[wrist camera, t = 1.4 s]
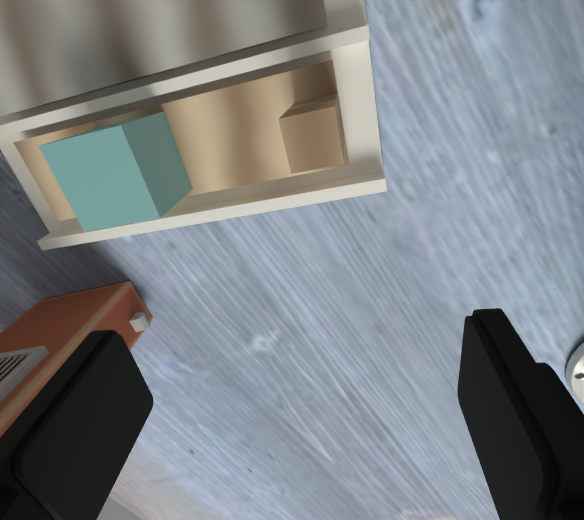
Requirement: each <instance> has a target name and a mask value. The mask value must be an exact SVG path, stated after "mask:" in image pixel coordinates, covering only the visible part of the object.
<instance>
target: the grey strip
mask: <svg viewBox="0 0 584 520" xmlns="http://www.w3.org/2000/svg"><path fill="white" fill-rule="evenodd" d="M327 26H328V24H327V17H326V11H325V4H324V0H0V116H5V115H10V114H15V113H19V112H22V111H26V110H30V109H33V108H37V107H40V106H44V105H48V104H51V103H55V102H58V101H62V100H65V99H69V98H73V97H76V96H80V95H83V94H87V93H91V92H94V91H98V90H101V89H105V88H108V87H112V86H116V85H119V84H123V83H126V82H130V81H133V80H137V79H141V78H144V77H148V76H151V75H155V74H159V73H162V72H166V71H169V70H173V69H176V68H180V67H184V66H187V65H191V64H194V63H198V62H202V61H205V60H209V59H212V58H216V57H219V56H223V55H227V54H230V53H234V52H237V51H241V50H244V49H248V48H252V47H255V46H259V45H262V44H266V43H270V42H273V41H277V40H280V39H284V38H287V37H291V36H295V35H298V34H302V33H305V32H309V31H313V30H316V29H320V28H323V27H327Z"/></svg>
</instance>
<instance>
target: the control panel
mask: <svg viewBox="0 0 584 520" xmlns="http://www.w3.org/2000/svg"><path fill="white" fill-rule="evenodd" d="M151 321H152V316H151V315H150V313H149V311H148V310H147V308H146V306H145V305H144V303H143V301H142V300H141V298H140V296H139V294H138V293H137V291H136V289H135V288H134V286H133V284H132V283H131V282H130V281H127V282H123V283H118V284H114V285H109V286H104V287H100V288H95V289H90V290H86V291H81V292H76V293H72V294H67V295H62V296H58V297H53V298H48V299H44V300H40V301H39V302H38V303H37V304H35V305H34V306H33V307H32V308H30V309H29V310H28V311H27V312H25V313H24V314H23V315H22V316H21V317H19V318H18V319H17V320H16V321H14V322H13V323H12V324H11V325H9V326H8V327H7V328H6V329H5V330H3V331H2V332H1V333H0V437H1V436H2V435H3V434H4V433H5V431H6V430H7V429H8V428H9V427H10V426H11V424H12V423H13V422H14V421H15V420H16V419H17V417H18V416H19V415H20V414H21V413H22V411H23V410H24V409H25V408H26V407H27V406H28V404H29V403H30V402H31V401H32V400H33V399H34V397H35V396H36V395H37V394H38V393H39V392H40V390H41V389H42V388H43V387H44V386H45V384H46V383H47V382H48V381H49V380H50V379H51V377H52V376H53V375H54V374H55V373H56V372H57V370H58V369H59V368H60V367H61V366H62V365H63V363H64V362H65V361H66V360H67V359H68V357H69V356H70V355H71V354H72V353H73V352H74V350H75V349H76V348H77V347H78V346H79V345H80V343H81V342H82V341H83V340H84V339H85V338H86V336H87V335H88V334H89V333H90V332H92V331H94V330H115V331H116V332H117V333H118V334H120V335H121V336H122V337H123V338H124V340H125V342H126V344H127V346H128V348H129V350H131V349H132V347H133V346H134V344H135V343H136V342H137V340H138V339H139V338H140V336H141V335H142V333H143V332H144V331H145V330H146V329H147V328H148V327H149V326H150V322H151Z"/></svg>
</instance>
